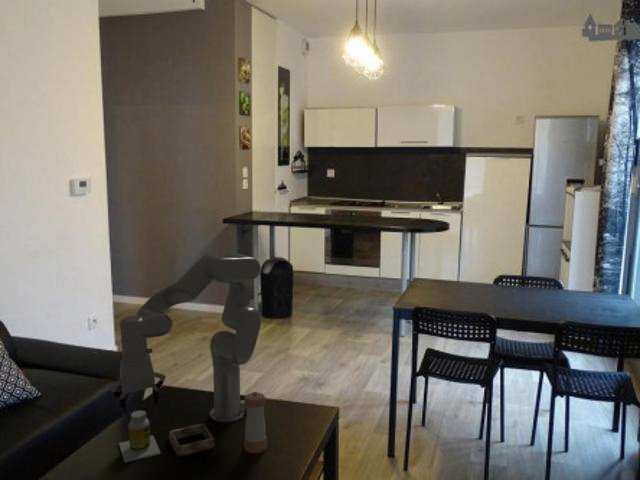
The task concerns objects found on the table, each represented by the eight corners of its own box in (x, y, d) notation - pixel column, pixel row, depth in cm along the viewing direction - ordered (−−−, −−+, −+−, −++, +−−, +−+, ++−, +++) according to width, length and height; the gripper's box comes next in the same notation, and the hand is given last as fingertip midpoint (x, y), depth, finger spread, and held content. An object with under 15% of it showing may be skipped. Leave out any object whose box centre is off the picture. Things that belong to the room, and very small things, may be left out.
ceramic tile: (153, 437, 186) (153, 435, 186) (160, 454, 175) (160, 452, 175) (119, 444, 181) (118, 443, 181) (124, 462, 170) (124, 461, 170)
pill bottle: (143, 453, 174) (142, 419, 173) (125, 451, 176) (123, 417, 174) (154, 443, 181) (152, 410, 179) (136, 441, 182) (134, 408, 180)
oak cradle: (204, 431, 190) (204, 423, 190) (214, 447, 180) (214, 439, 179) (169, 439, 185) (168, 430, 184) (177, 456, 174) (177, 447, 174)
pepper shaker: (248, 455, 175) (248, 398, 172) (241, 444, 181) (240, 390, 178) (270, 449, 178) (269, 394, 175) (261, 439, 185) (261, 385, 182)
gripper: (160, 346, 180) (164, 394, 184) (104, 356, 173) (109, 407, 176) (165, 353, 174) (169, 403, 177) (107, 365, 166) (113, 417, 169)
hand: (139, 405), depth 176 cm, fingers open, 9 cm apart
